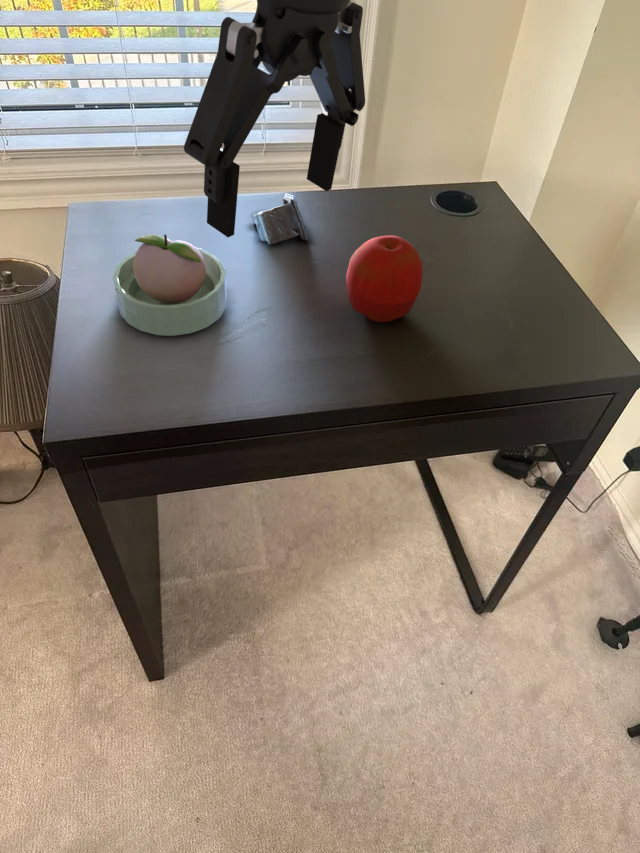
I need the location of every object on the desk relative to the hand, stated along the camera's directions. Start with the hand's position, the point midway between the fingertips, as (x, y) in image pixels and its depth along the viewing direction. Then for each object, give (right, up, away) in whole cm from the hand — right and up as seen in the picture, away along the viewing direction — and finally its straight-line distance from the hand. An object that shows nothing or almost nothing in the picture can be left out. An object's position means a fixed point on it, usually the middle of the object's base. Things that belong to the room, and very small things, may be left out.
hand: (272, 205), depth 61 cm
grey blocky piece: (-3, +10, +41) cm, 43 cm away
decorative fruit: (-15, -4, +26) cm, 30 cm away
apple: (+13, -5, +28) cm, 32 cm away
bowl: (-15, -5, +26) cm, 31 cm away
